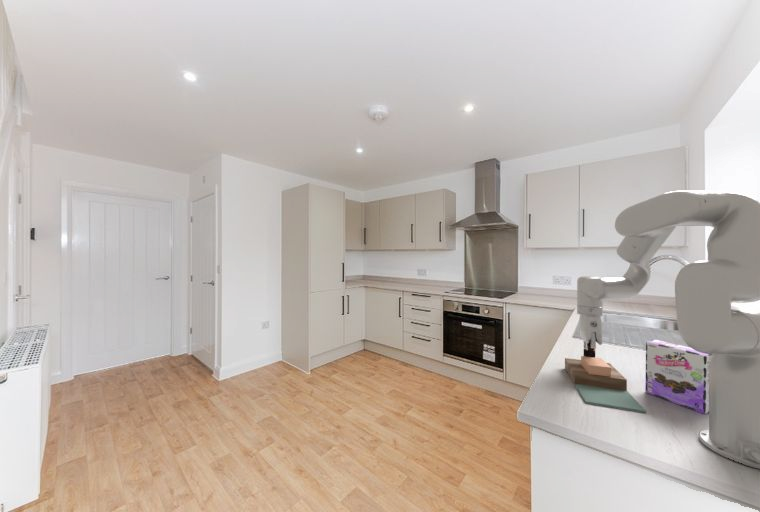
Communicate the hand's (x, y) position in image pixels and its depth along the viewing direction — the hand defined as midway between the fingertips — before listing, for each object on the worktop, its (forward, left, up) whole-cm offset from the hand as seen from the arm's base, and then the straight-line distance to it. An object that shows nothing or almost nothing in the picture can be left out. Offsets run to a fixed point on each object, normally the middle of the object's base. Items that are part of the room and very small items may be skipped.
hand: (589, 360), depth 105 cm
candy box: (-13, -19, -5) cm, 24 cm away
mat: (-19, 0, -5) cm, 19 cm away
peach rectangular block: (-6, 0, -1) cm, 6 cm away
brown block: (-4, 0, -5) cm, 7 cm away
